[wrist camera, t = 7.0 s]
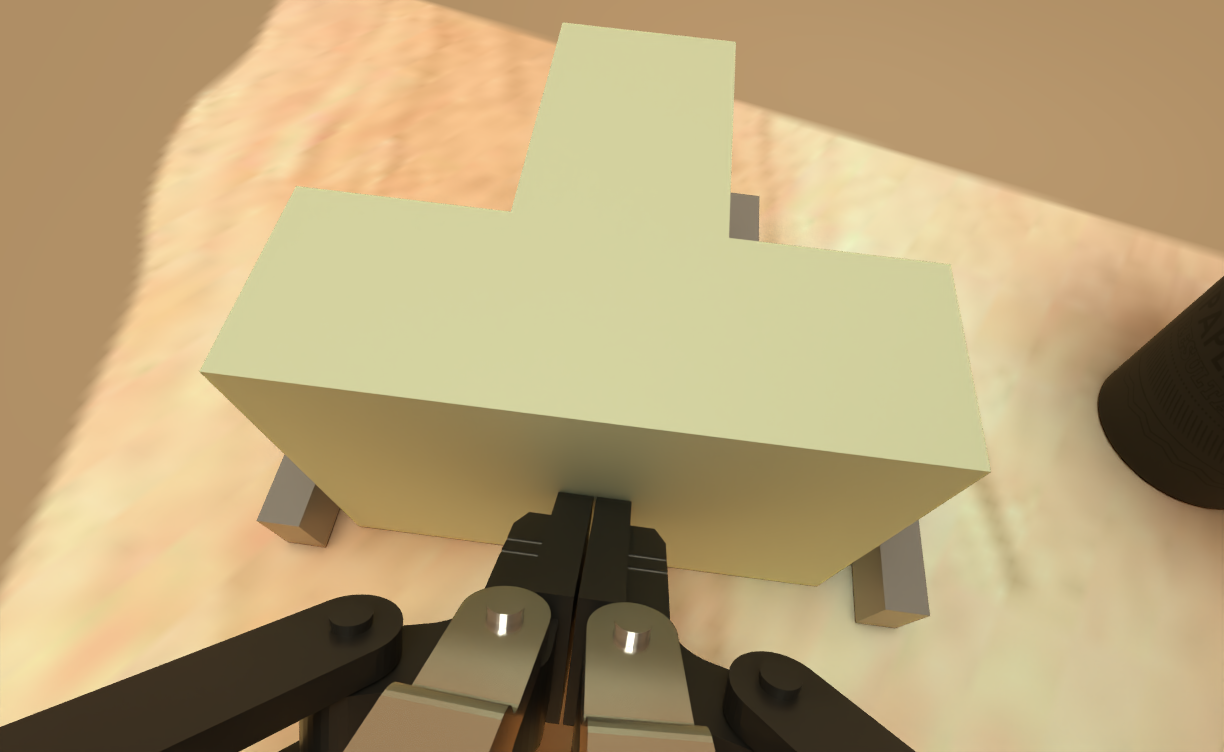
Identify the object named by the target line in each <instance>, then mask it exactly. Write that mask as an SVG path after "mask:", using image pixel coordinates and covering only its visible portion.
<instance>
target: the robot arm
mask: <svg viewBox="0 0 1224 752" xmlns="http://www.w3.org/2000/svg"><path fill="white" fill-rule="evenodd" d="M593 500H594V496H587V495H580V494H572V493H565V492H558V495H557V498H556V501H555V504H554V507H553V510H552V514H551V515H548V514H541V513H534V512H528V513H527V514H526V515H524V516H523V517H521V518H520V519H518V520H517V521H515V522H514V523H513V525H512V527H511V530H510V532H509V534H508V537H507V540H506V541H505V543H504V546H503V548H502V552H501V553H500V555H499V557H498V560H497V562H496V564H495V566H494V569H493V571H492V573H491V576H490V578H489V580H488V582H487V585H486V587H485V589H482V590H480V591H477V592H475V593H473V594H472V595H470V596H469V597H468V598H466V599H465V600H464V602H463V603H462V604H461V606H460V607H459V609H458V611H457V612H456V614H455V616H454V617H453V619H450V620H447V621H442V622H437V623H429V624H417V625H404V626H403V616H402V612H401V610H400V609H399V608H398V606H397V605H396V604H394V603H393V602H391V601H389V600H387V599H385V598H382V597H379V596H373V595H349V596H343V597H339V598H335V599H332V600H329V601H326V602H324V603H321V604H319V605H316V606H313V607H311V608H308V609H306V610H303V611H300V612H298V613H295V614H293V615H290V616H287V617H285V618H282V619H280V620H277V621H274V622H272V623H269V624H267V625H264V626H261V627H259V628H256V629H254V630H251V631H248V632H246V633H243V634H241V635H238V636H235V637H233V638H230V639H228V640H225V641H223V642H220V643H217V644H215V645H212V646H210V647H207V648H204V649H202V650H199V651H197V652H194V653H191V654H189V655H186V656H184V657H181V658H178V659H176V660H173V661H171V662H168V663H165V664H163V665H160V666H158V667H155V668H152V669H150V670H147V671H145V672H142V673H139V674H137V675H134V676H132V677H129V678H126V679H124V680H121V681H119V682H116V683H113V684H111V685H108V686H106V687H103V688H100V689H98V690H95V691H93V692H90V693H88V694H85V695H82V696H80V697H77V698H75V699H72V700H69V701H67V702H64V703H62V704H59V705H56V706H54V707H51V708H49V709H46V710H43V711H41V712H38V713H36V714H33V715H30V716H28V717H25V718H23V719H20V720H17V721H15V722H12V723H10V724H7V725H4V726H2V727H0V752H239V751H241V750H243V749H245V748H247V747H249V746H251V745H253V744H255V743H257V742H259V741H261V740H263V739H265V738H267V737H269V736H270V735H272V734H274V733H276V732H278V731H280V730H282V729H284V728H286V727H288V726H290V725H292V724H294V723H296V722H298V721H299V741H297V742H296V743H294V744H292V745H290V746H288V747H286V748H284V749H282V750H281V751H279V752H536V750H537V748H538V747H539V745H540V742H541V739H542V735H543V730H544V725H545V722H548V723H555V724H559V720H560V714H561V709H562V703H563V697H564V692H565V686H566V680H567V675H568V669H569V663H570V670H569V679H568V687H567V695H566V704H565V712H564V720H563V724H564V725H571V726H574V731H573V739H572V747H571V752H915V751H914V750H913V749H911V748H910V747H909V746H908V745H906V744H905V743H904V742H902V741H901V740H900V739H899V738H897V737H896V736H895V735H894V734H892V733H891V732H890V731H888V730H887V729H886V728H885V727H883V726H882V725H881V724H880V723H878V722H877V721H876V720H874V719H873V718H872V717H871V716H869V715H868V714H867V713H865V712H864V711H863V710H862V709H860V708H859V707H858V706H857V705H855V704H854V703H853V702H851V701H850V700H849V699H848V698H846V697H845V696H844V695H842V694H841V693H840V692H839V691H837V690H836V689H835V688H834V687H832V686H831V685H830V684H828V683H827V682H826V681H825V680H823V679H822V678H821V677H819V676H818V675H817V674H816V673H814V672H813V671H812V670H811V669H809V668H808V667H806V666H805V665H803V664H802V663H800V662H798V661H796V660H794V659H792V658H789V657H787V656H784V655H781V654H777V653H772V652H764V651H760V652H750V653H746V654H743V655H741V656H739V657H738V658H737V659H735V660H734V661H733V663H732V664H731V666H730V670H728V669H726V668H723V667H721V666H718V665H715V664H713V663H710V662H708V661H705V660H703V659H701V658H699V657H697V656H696V655H694V654H693V653H691V652H690V651H688V650H687V649H686V648H685V647H684V646H682V645H681V644H680V642H679V639H678V634H677V630H676V628H675V626H674V625H673V623H672V622H671V621H670V611H669V592H668V575H667V562H666V561H667V555H666V543H665V542H664V540H663V539H662V538H661V536H660V535H659V534H658V532H657V531H656V530H655V529H653V528H645V527H638V526H630V522H631V505H632V501H625V500H618V499H610V498H603V497H597V498H596V503H595V509H594V514H593V520H592V525H591V518H592V509H593ZM590 526H591V531H590ZM589 534H590V536H589ZM571 652H572V654H571ZM570 658H571V662H570Z"/></svg>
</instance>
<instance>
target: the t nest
mask: <svg viewBox="0 0 1224 752" xmlns="http://www.w3.org/2000/svg"><path fill="white" fill-rule="evenodd" d="M729 238H734V239H743V240H751V241H759V196H753V195H745V194H737V193H731V194H730V223H729ZM339 509H340V507H339V506H338V505H337V504H335V503H334V502H333V501H332V500H331V499H330V498H329V497H328V496H327V495H326V494H325V493H324V492H323V491H322V490H321V489H320V488H319V487H318V486H317V485H316V484H315V483H314V482H313V481H312V480H311V479H310V478H309V477H308V476H307V475H306V474H305V473H304V472H302V471H301V470H300V469H299V468H298V467H297V466H296V465H295V464H294V463H293V462H292V461H291V460H290V459H289V458H288V457H287V456H286V455H284V457H283V459H282V462H281V464H280V467H279V469H278V471H277V474H276V476H275V478H274V481H273V483H272V486H271V488H270V490H269V493H268V495H267V497H266V500H265V502H264V505H263V507H262V509H261V512H260V514H259V516H258V519H257V521H258V522H259V523H261V524H262V525H264V526H265V527H267V528H268V529H269V530H271V531H272V532H274V533H275V534H277V535H278V536H280V537H281V538H283V539H284V540H286V541H287V542H292V543H299V544H306V545H313V546H320V547H326V545H327V542H328V540H329V537H330V534H331V531H332V528H333V526H334V523H335V520H336V517H337V514H338V512H339ZM852 572H853V588H854V604H855V620H856V623H863V624H870V625H877V626H884V627H891V628H897V627H900V626H903V625H906V624H909V623H911V622H914V621H917V620H920V619H922V618H925V617H928V616H930V612H929V604H928V596H927V587H926V579H925V570H924V562H923V554H922V545H921V537H920V529H919V520H917V521H916V522H914V523H913V524H911V525H909V526H908V527H906V528H905V529H903V530H902V531H900V532H899V533H897V534H896V535H894V536H893V537H891V538H890V539H888V540H887V541H885V542H884V543H882V544H881V545H879V546H877V547H876V548H874V549H873V550H871V551H870V552H868V553H867V554H865V555H864V556H862V557H861V558H859V559H858V560H856V561H855V562H853V563H852Z"/></svg>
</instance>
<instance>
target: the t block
mask: <svg viewBox="0 0 1224 752" xmlns="http://www.w3.org/2000/svg"><path fill="white" fill-rule="evenodd" d="M735 48H736V42H731V41H723V40H714V39H705V38H696V37H686V36H678V35H669V34H660V33H651V32H642V31H634V30H625V29H616V28H607V27H598V26H589V25H580V24H572V23H562V27H561V31H560V34H559V38H558V42H557V45H556V49H555V53H554V56H553V60H552V64H551V67H550V71H549V75H548V78H547V82H546V85H545V89H544V93H543V96H542V100H541V104H540V107H539V111H538V115H537V118H536V122H535V126H534V129H533V133H532V137H531V140H530V144H529V148H528V151H527V155H526V159H525V162H524V166H523V169H522V173H521V177H520V180H519V184H518V188H517V191H516V195H515V199H514V202H513V206H512V210H511V212H508V211H500V210H492V209H483V208H475V207H467V206H458V205H450V204H442V203H433V202H425V201H417V200H408V199H400V198H391V197H383V196H375V195H366V194H358V193H350V192H341V191H333V190H325V189H316V188H308V187H299V186H296V188H295V189H294V191H293V193H292V195H291V197H290V199H289V201H288V203H287V205H286V207H285V209H284V210H283V212H282V214H281V216H280V218H279V220H278V222H277V224H276V226H275V228H274V230H273V232H272V233H271V235H270V237H269V239H268V241H267V243H266V245H265V247H264V249H263V251H262V253H261V254H260V256H259V258H258V260H257V262H256V264H255V266H254V268H253V270H252V272H251V274H250V276H249V277H248V279H247V281H246V283H245V285H244V287H243V289H242V291H241V293H240V295H239V297H238V298H237V300H236V302H235V304H234V306H233V308H232V310H231V312H230V314H229V316H228V318H227V319H226V321H225V323H224V325H223V327H222V329H221V331H220V333H219V335H218V337H217V339H216V341H215V342H214V344H213V346H212V348H211V350H210V352H209V354H208V356H207V358H206V360H205V362H204V363H203V365H202V367H201V369H200V371H199V372H200V373H201V374H202V375H203V376H205V377H206V378H207V379H208V380H209V381H210V382H211V383H212V384H213V385H214V386H215V387H216V388H217V389H218V390H219V391H220V392H221V393H222V394H223V395H224V396H225V397H226V398H227V399H228V400H229V401H230V402H231V403H232V404H233V405H234V406H235V407H236V408H238V409H239V410H240V411H241V412H242V413H243V414H244V415H245V416H246V417H247V418H248V419H249V420H250V421H251V422H252V423H253V424H254V425H255V426H256V427H257V428H258V429H259V430H260V431H261V432H262V433H263V434H264V435H265V436H266V437H267V438H268V439H269V440H271V441H272V442H273V443H274V444H275V445H276V446H277V447H278V448H279V449H280V450H281V451H282V452H283V453H284V454H285V455H286V456H287V457H288V458H289V459H290V460H291V461H292V462H293V463H294V464H295V465H296V466H297V467H298V468H299V469H300V470H301V471H302V472H304V473H305V474H306V475H307V476H308V477H309V478H310V479H311V480H312V481H313V482H314V483H315V484H316V485H317V486H318V487H319V488H320V489H321V490H322V491H323V492H324V493H325V494H326V495H327V496H328V497H329V498H330V499H331V500H332V501H333V502H334V503H335V504H337V505H338V506H339V507H340V508H341V509H342V510H343V511H344V512H345V513H346V514H347V515H348V516H349V517H350V518H351V519H352V520H353V521H354V522H355V523H356V524H357V525H358V526H362V527H369V528H377V529H384V530H392V531H400V532H407V533H415V534H422V535H430V536H438V537H445V538H453V539H460V540H468V541H476V542H483V543H491V544H498V545H504V543H505V541H506V540H507V537H508V534H509V532H510V530H511V527H512V525H513V523H514V522H515V521H517V520H518V519H520V518H521V517H523V516H524V515H526V514H527V513H528V512H534V513H541V514H548V515H551V514H552V510H553V507H554V504H555V501H556V498H557V495H558V492H565V493H572V494H580V495H587V496H594V500H593V509H592V518H591V525H592V520H593V514H594V509H595V503H596V498H597V497H603V498H610V499H618V500H625V501H632V505H631V522H630V526H638V527H645V528H653V529H655V530H656V531H657V532H658V534H659V535H660V536H661V538H662V539H663V540H664V542H665V543H666V555H667V561H666V562H667V567H673V568H680V569H688V570H696V571H703V572H711V573H718V574H726V575H734V576H741V577H749V578H756V579H764V580H772V581H779V582H787V583H794V584H802V585H809V586H818V585H820V584H821V583H823V582H824V581H826V580H827V579H829V578H830V577H832V576H833V575H835V574H836V573H838V572H839V571H841V570H842V569H844V568H845V567H847V566H849V565H850V564H852V563H853V562H855V561H856V560H858V559H859V558H861V557H862V556H864V555H865V554H867V553H868V552H870V551H871V550H873V549H874V548H876V547H877V546H879V545H881V544H882V543H884V542H885V541H887V540H888V539H890V538H891V537H893V536H894V535H896V534H897V533H899V532H900V531H902V530H903V529H905V528H906V527H908V526H909V525H911V524H913V523H914V522H916V521H917V520H919V519H920V518H922V517H923V516H925V515H926V514H928V513H929V512H931V511H932V510H934V509H935V508H937V507H938V506H940V505H941V504H943V503H944V502H946V501H948V500H949V499H951V498H952V497H954V496H955V495H957V494H958V493H960V492H961V491H963V490H964V489H966V488H967V487H969V486H970V485H972V484H973V483H975V482H976V481H978V480H980V479H981V478H983V477H984V476H986V475H987V474H989V473H990V472H991V469H990V464H989V459H988V454H987V448H986V443H985V438H984V433H983V428H982V423H981V418H980V413H979V407H978V402H977V397H976V392H975V387H974V382H973V377H972V372H971V367H970V361H969V356H968V351H967V346H966V341H965V336H964V331H963V326H962V320H961V315H960V310H959V305H958V300H957V295H956V290H955V285H954V279H953V274H952V269H951V264H943V263H935V262H927V261H918V260H910V259H901V258H893V257H885V256H876V255H868V254H860V253H851V252H843V251H835V250H826V249H818V248H809V247H801V246H793V245H784V244H776V243H768V242H759V241H751V240H743V239H734V238H729V223H730V194H731V165H732V137H733V108H734V78H735ZM590 531H591V526H590ZM589 536H590V534H589Z"/></svg>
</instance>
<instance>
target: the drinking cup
mask: <svg viewBox="0 0 1224 752" xmlns="http://www.w3.org/2000/svg"><path fill="white" fill-rule="evenodd" d="M1099 414H1100V419H1101V422H1102V425H1103V428H1104V431H1105V433H1106V435H1107V437H1108V439H1109V440H1110V442H1111V444H1112V445H1113V447H1114V448H1115V450H1116V451H1117V452H1118V454H1119V455H1120V456H1121V458H1122V459H1123V460H1124V461H1125V462H1126V463H1127V464H1128V465H1129V466H1130V467H1131V468H1132V469H1133V470H1134V471H1135V472H1136V473H1137V474H1138V475H1140V476H1141V477H1142V478H1143V479H1145V480H1146V481H1147V482H1148V483H1150V484H1151V485H1153V486H1154V487H1156V488H1157V489H1159V490H1161V491H1163V492H1164V493H1166V494H1168V495H1170V496H1172V497H1174V498H1176V499H1179V500H1181V501H1184V502H1187V503H1190V504H1193V505H1197V506H1201V507H1206V508H1213V509H1224V276H1223V277H1222V278H1221V279H1220V280H1219V281H1218V282H1216V283H1215V284H1214V285H1213V286H1212V287H1211V288H1209V289H1208V290H1207V291H1206V292H1205V293H1204V294H1203V295H1201V296H1200V297H1199V298H1198V299H1197V300H1196V301H1195V302H1193V303H1192V304H1191V305H1190V306H1189V307H1188V308H1187V309H1185V310H1184V311H1183V312H1182V313H1181V314H1180V315H1179V316H1177V317H1176V318H1175V319H1174V320H1173V321H1172V322H1170V323H1169V324H1168V325H1167V326H1166V327H1165V328H1164V329H1162V330H1161V331H1160V332H1159V333H1158V334H1157V335H1156V336H1154V337H1153V338H1152V339H1151V340H1150V341H1149V342H1148V343H1146V344H1145V345H1144V346H1143V347H1142V348H1141V349H1140V350H1138V351H1137V352H1136V353H1135V354H1134V355H1133V356H1131V357H1130V358H1129V359H1128V360H1127V361H1126V362H1125V363H1123V364H1122V365H1121V366H1120V367H1119V368H1118V369H1117V370H1115V371H1114V372H1113V373H1112V374H1111V375H1110V376H1109V377H1108V378H1107V380H1106V381H1105V382H1104V384H1103V386H1102V389H1101V392H1100V396H1099Z"/></svg>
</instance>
